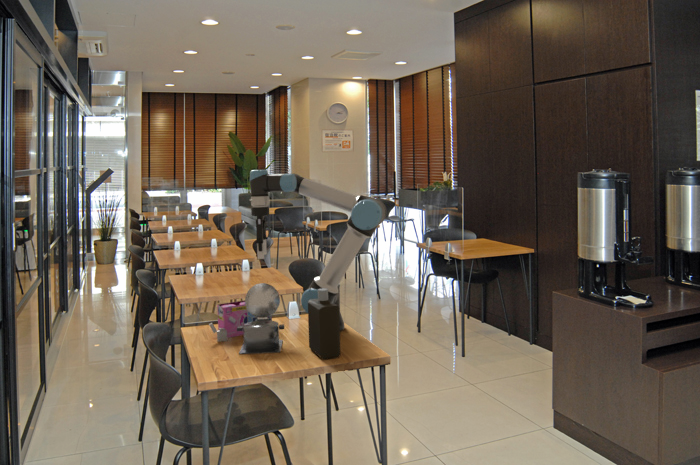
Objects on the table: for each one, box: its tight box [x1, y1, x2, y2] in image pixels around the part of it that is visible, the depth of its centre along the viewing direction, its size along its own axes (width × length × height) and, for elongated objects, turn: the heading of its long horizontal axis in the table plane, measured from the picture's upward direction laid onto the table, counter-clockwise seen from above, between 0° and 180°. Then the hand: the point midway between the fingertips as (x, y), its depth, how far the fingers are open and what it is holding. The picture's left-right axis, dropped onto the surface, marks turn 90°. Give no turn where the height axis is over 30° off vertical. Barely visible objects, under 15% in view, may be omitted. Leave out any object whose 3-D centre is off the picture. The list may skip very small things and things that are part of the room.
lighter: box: [208, 322, 228, 342], centre depth 233 cm, size 7×2×8 cm, turn 104°
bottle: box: [307, 288, 341, 361], centre depth 213 cm, size 8×16×25 cm, turn 22°
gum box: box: [216, 299, 273, 339], centre depth 246 cm, size 24×8×14 cm, turn 123°
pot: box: [237, 318, 285, 355], centre depth 224 cm, size 19×18×9 cm
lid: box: [244, 282, 281, 319], centre depth 232 cm, size 14×15×3 cm
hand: (262, 256), depth 237 cm, fingers open, 12 cm apart
